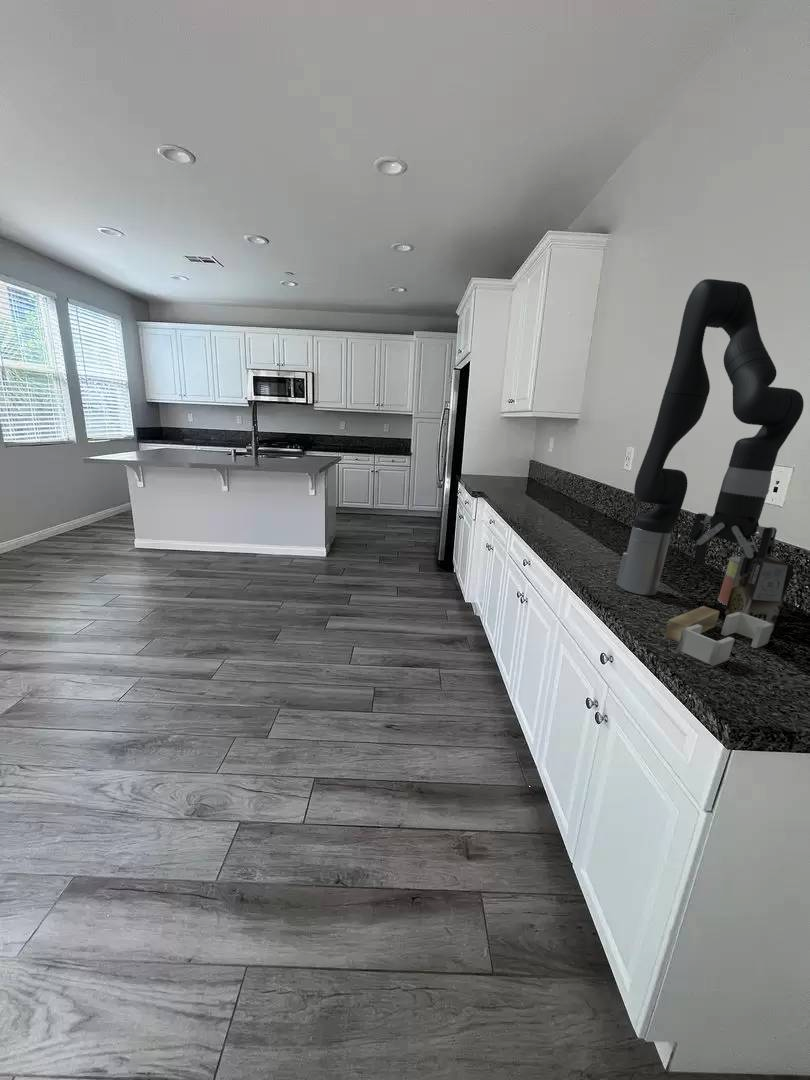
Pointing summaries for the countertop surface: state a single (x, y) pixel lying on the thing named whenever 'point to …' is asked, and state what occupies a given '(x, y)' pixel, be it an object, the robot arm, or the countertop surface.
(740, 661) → the countertop surface
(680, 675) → the countertop surface
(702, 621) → the oak bar
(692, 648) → the end cap
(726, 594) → the canned food
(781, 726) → the countertop surface
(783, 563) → the coffee box
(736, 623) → the end cap
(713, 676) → the countertop surface
